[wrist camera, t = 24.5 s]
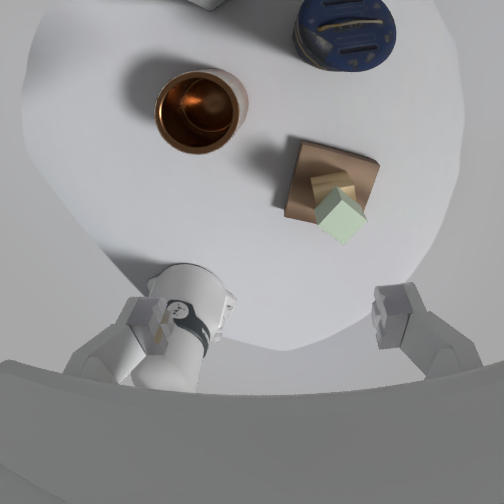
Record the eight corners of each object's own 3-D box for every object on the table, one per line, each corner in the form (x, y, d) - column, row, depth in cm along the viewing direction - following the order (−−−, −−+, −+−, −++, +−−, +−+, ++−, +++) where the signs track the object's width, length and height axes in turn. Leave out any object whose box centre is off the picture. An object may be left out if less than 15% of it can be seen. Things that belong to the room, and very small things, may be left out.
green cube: (338, 227, 42) (343, 245, 38) (314, 209, 41) (317, 225, 37) (359, 205, 40) (367, 221, 36) (336, 185, 39) (341, 199, 35)
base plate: (352, 225, 50) (355, 232, 48) (284, 209, 50) (284, 216, 48) (375, 160, 44) (380, 165, 42) (301, 140, 43) (303, 144, 41)
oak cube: (351, 204, 46) (358, 221, 41) (316, 210, 47) (320, 227, 42) (346, 171, 43) (354, 185, 38) (310, 177, 44) (313, 192, 39)
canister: (359, 73, 36) (405, 80, 22) (293, 70, 37) (301, 71, 23) (357, 13, 31) (401, -14, 16) (290, 9, 32) (295, -27, 17)
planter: (261, 85, 39) (256, 89, 31) (231, 148, 45) (220, 169, 37) (192, 59, 37) (170, 58, 29) (167, 123, 43) (142, 138, 35)
